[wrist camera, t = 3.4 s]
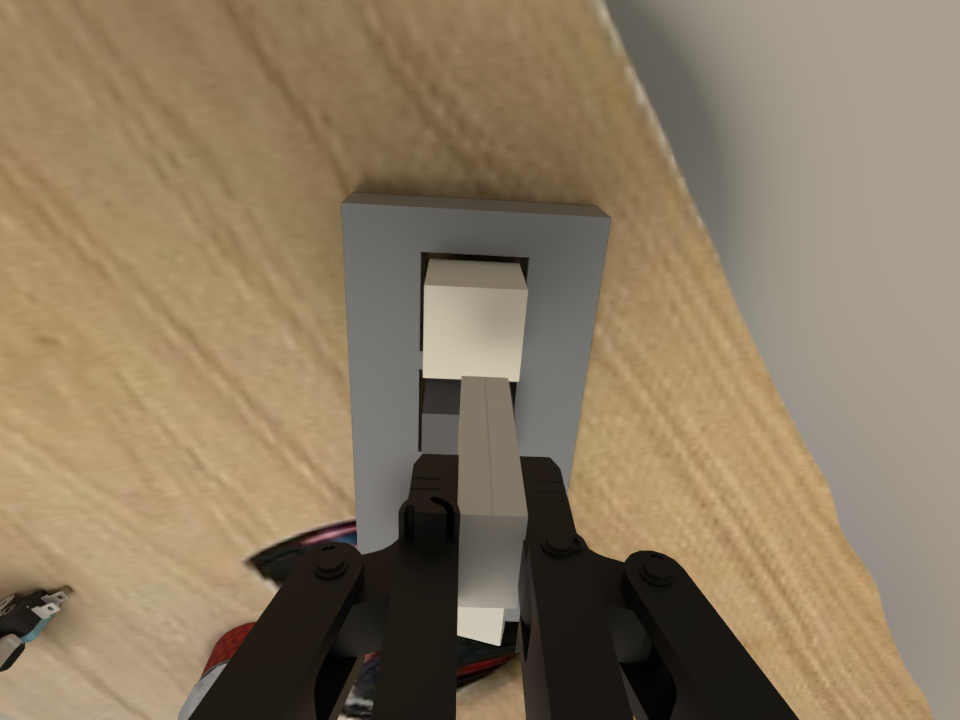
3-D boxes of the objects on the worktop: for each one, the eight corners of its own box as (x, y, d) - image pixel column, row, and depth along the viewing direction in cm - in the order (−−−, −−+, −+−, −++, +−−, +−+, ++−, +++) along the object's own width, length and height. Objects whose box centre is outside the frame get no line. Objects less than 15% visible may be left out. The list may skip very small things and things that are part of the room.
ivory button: (429, 258, 26) (424, 285, 22) (519, 263, 26) (528, 290, 22) (428, 340, 28) (422, 377, 24) (511, 344, 28) (518, 381, 24)
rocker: (410, 558, 33) (403, 573, 32) (509, 580, 32) (505, 597, 31) (410, 605, 35) (403, 621, 34) (503, 628, 34) (499, 646, 32)
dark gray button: (427, 373, 28) (421, 413, 25) (508, 376, 29) (515, 416, 25) (425, 441, 30) (420, 488, 27) (502, 444, 30) (507, 491, 27)
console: (353, 192, 27) (334, 208, 23) (596, 205, 27) (619, 224, 24) (368, 581, 38) (357, 637, 34) (541, 585, 39) (550, 641, 35)
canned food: (234, 617, 46) (121, 697, 37) (320, 573, 43) (220, 649, 33) (296, 743, 45) (197, 858, 36) (389, 709, 42) (307, 826, 32)
